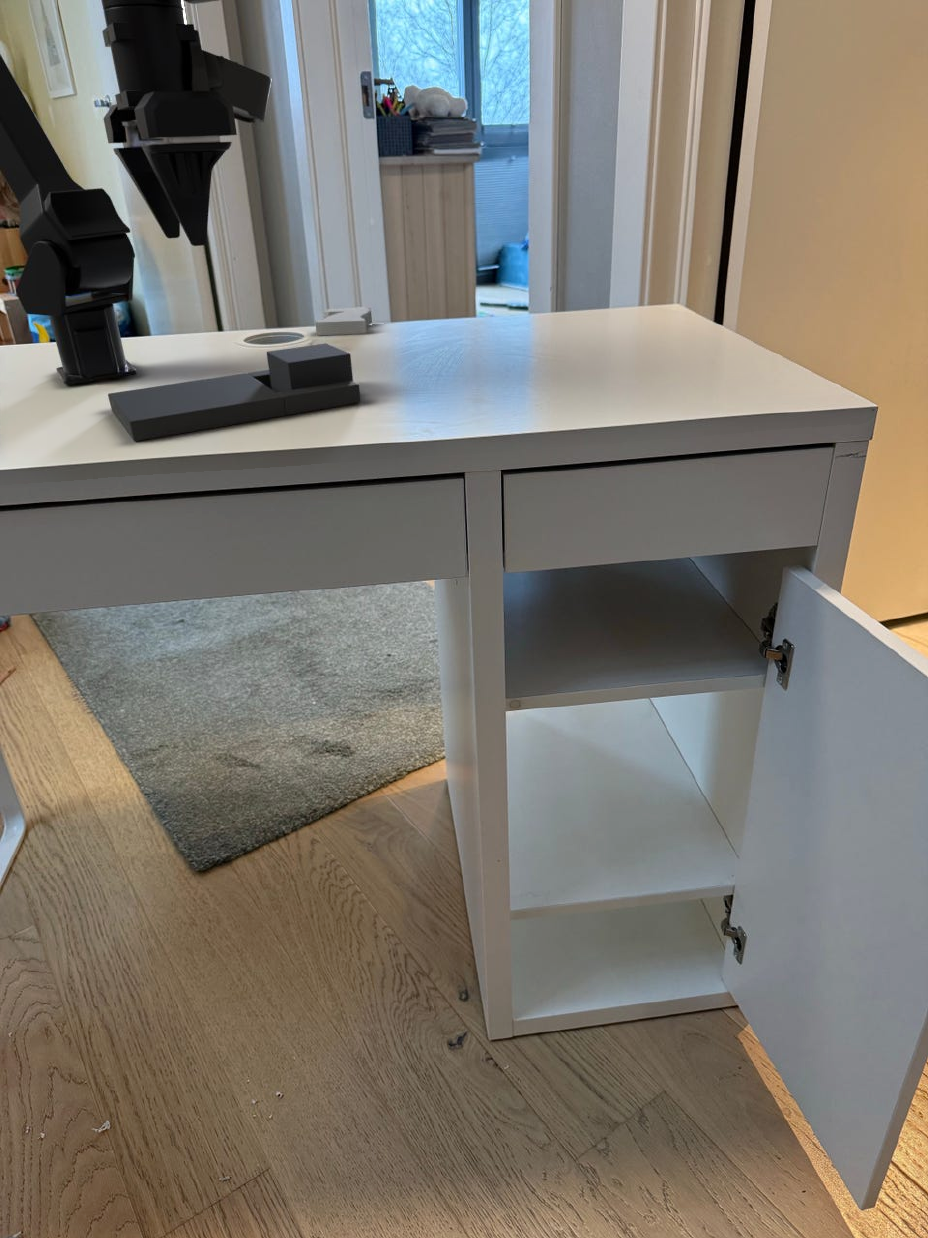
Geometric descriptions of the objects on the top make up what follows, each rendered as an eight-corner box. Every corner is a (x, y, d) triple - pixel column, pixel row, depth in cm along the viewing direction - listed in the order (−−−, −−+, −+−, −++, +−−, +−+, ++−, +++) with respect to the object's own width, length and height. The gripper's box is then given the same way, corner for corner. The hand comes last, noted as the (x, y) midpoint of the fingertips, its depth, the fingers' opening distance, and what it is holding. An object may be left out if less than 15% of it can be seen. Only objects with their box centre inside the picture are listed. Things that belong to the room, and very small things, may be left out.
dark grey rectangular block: (272, 393, 74) (266, 351, 72) (330, 383, 76) (326, 343, 74) (293, 406, 70) (287, 362, 68) (354, 396, 72) (350, 353, 70)
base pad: (111, 411, 71) (107, 393, 70) (318, 379, 78) (316, 362, 77) (134, 441, 63) (129, 421, 62) (361, 402, 70) (359, 384, 69)
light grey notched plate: (366, 333, 96) (374, 317, 105) (365, 320, 96) (373, 305, 104) (315, 335, 96) (327, 319, 105) (314, 322, 96) (326, 307, 104)
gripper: (290, -6, 59) (317, 240, 67) (219, 28, 74) (248, 227, 81) (122, -12, 55) (172, 253, 62) (83, 26, 69) (127, 237, 77)
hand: (185, 241), depth 71 cm, fingers open, 9 cm apart
